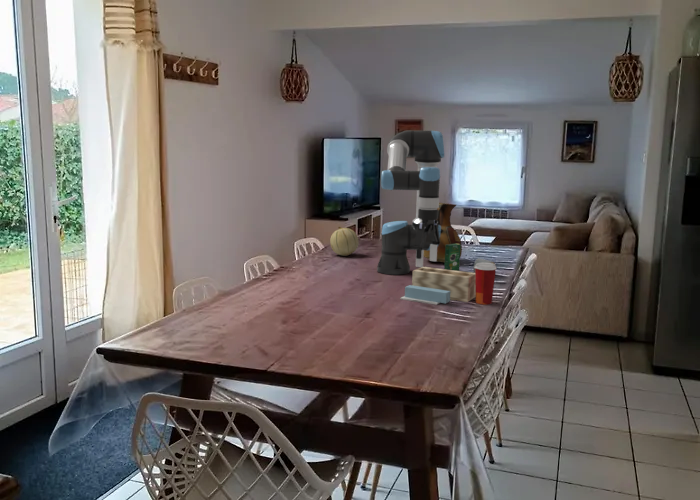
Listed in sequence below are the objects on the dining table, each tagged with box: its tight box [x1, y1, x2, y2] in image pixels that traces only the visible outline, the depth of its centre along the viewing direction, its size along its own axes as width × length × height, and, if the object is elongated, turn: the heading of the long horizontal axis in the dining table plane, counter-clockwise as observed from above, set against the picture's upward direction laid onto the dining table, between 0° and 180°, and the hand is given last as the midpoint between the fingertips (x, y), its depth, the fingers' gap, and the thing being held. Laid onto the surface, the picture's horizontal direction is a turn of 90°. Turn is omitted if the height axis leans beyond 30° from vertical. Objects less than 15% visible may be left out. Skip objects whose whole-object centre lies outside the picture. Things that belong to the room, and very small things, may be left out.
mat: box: [400, 295, 440, 306], centre depth 251 cm, size 8×15×1 cm, turn 61°
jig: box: [411, 266, 476, 303], centre depth 257 cm, size 23×10×10 cm, turn 61°
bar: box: [404, 284, 451, 304], centre depth 249 cm, size 17×4×4 cm, turn 58°
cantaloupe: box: [329, 226, 359, 257], centre depth 337 cm, size 15×15×15 cm
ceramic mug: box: [472, 257, 496, 273], centre depth 296 cm, size 11×8×8 cm
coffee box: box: [443, 243, 462, 271], centre depth 302 cm, size 8×3×13 cm, turn 129°
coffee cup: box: [473, 263, 497, 306], centre depth 246 cm, size 8×8×15 cm
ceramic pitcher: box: [423, 201, 463, 263], centre depth 324 cm, size 20×20×30 cm
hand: (426, 264), depth 248 cm, fingers open, 13 cm apart
